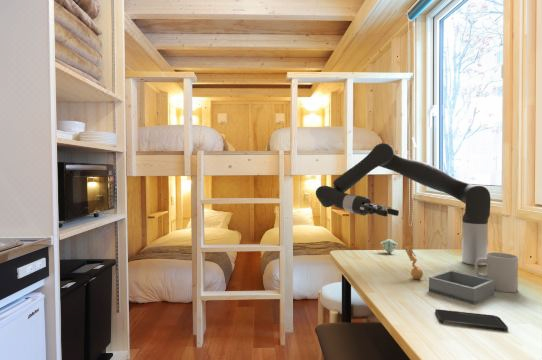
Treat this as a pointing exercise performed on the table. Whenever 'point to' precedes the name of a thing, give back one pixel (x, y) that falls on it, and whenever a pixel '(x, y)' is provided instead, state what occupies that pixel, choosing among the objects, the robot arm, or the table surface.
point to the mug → (500, 271)
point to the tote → (461, 286)
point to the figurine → (415, 271)
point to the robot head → (389, 245)
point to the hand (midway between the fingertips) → (392, 213)
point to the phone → (471, 320)
